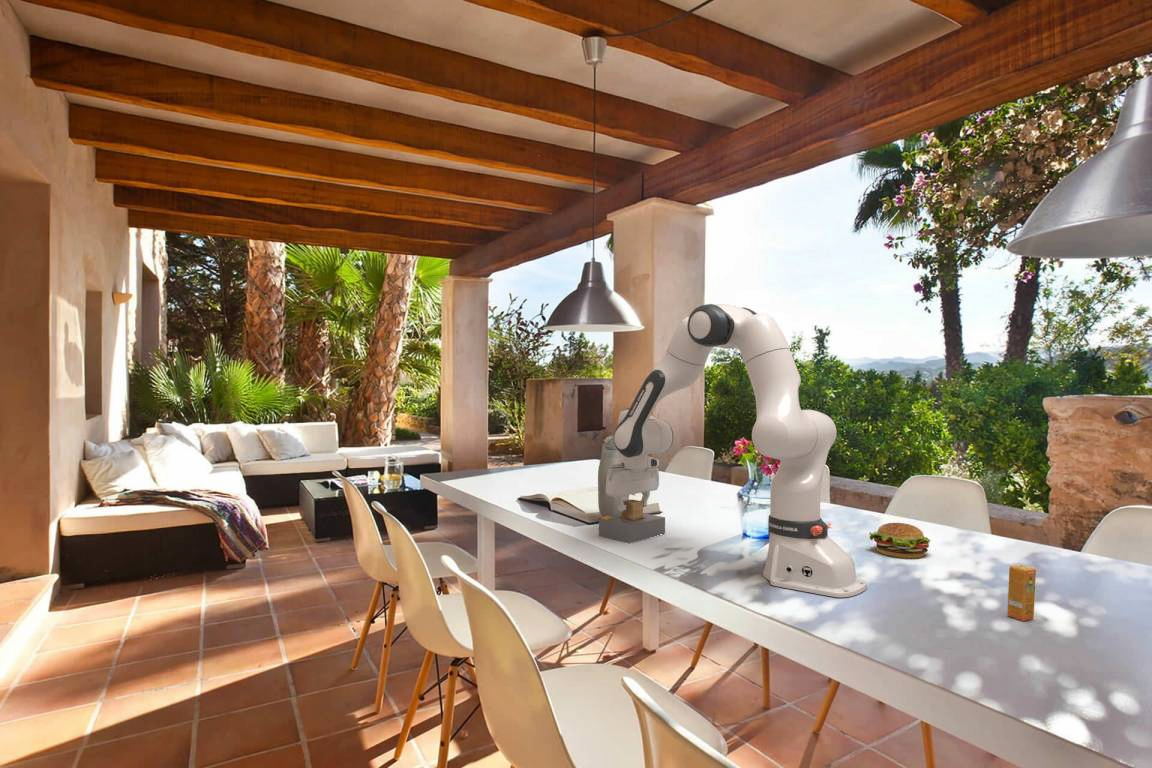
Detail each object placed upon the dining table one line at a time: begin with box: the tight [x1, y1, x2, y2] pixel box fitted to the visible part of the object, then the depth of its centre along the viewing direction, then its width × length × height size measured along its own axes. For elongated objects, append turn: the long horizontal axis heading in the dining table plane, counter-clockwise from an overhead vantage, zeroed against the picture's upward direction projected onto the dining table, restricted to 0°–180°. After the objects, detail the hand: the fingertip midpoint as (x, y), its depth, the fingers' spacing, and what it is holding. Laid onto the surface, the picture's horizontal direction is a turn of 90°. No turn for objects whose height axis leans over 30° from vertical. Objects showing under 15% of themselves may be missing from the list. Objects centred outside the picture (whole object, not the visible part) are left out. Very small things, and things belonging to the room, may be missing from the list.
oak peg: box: [622, 499, 644, 521], centre depth 195 cm, size 4×4×9 cm
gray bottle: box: [597, 434, 630, 518], centre depth 214 cm, size 10×10×28 cm
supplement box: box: [1007, 563, 1037, 622], centre depth 127 cm, size 3×3×10 cm
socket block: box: [598, 512, 666, 544], centre depth 195 cm, size 12×16×6 cm
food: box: [869, 522, 932, 559], centre depth 175 cm, size 14×14×8 cm
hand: (632, 508), depth 195 cm, fingers open, 8 cm apart
